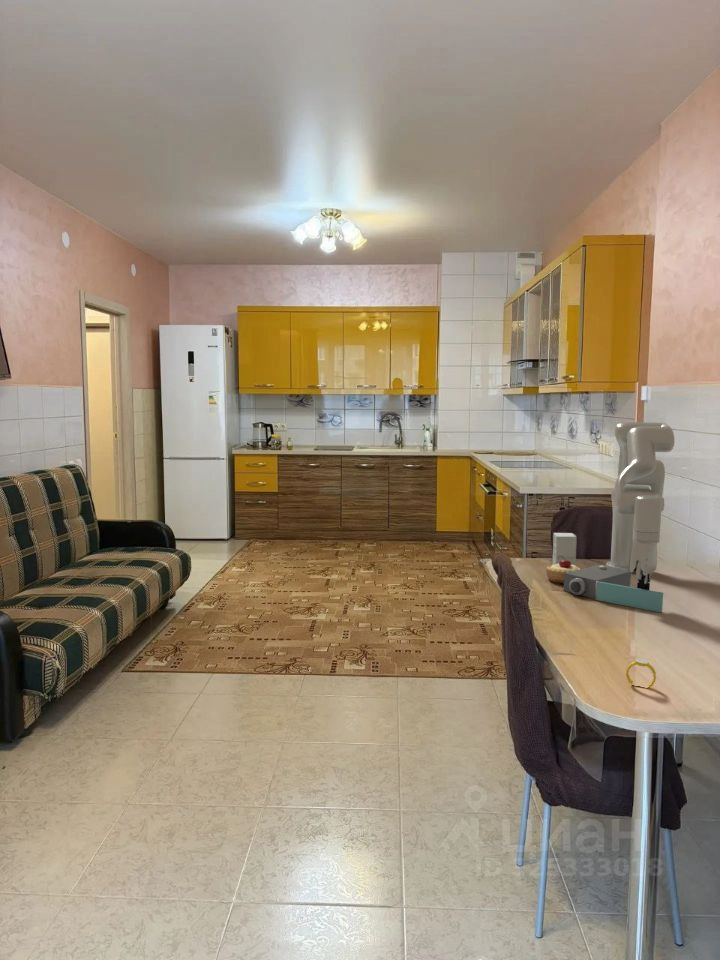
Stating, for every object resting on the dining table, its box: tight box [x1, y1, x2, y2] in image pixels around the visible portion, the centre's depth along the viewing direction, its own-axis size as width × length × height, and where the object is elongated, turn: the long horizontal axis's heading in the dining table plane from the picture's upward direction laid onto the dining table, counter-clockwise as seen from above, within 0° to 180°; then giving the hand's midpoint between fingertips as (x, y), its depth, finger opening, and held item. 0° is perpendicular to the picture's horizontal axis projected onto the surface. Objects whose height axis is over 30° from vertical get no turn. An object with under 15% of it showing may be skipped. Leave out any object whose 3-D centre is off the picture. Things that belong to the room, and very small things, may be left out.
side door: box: [594, 581, 664, 613], centre depth 212 cm, size 20×1×6 cm, turn 50°
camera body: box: [563, 564, 632, 599], centre depth 229 cm, size 22×12×7 cm, turn 128°
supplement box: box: [552, 532, 578, 566], centre depth 261 cm, size 7×7×13 cm
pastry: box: [545, 556, 581, 585], centre depth 241 cm, size 12×12×9 cm
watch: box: [625, 658, 657, 688], centre depth 152 cm, size 6×3×6 cm, turn 64°
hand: (642, 595), depth 211 cm, fingers closed
